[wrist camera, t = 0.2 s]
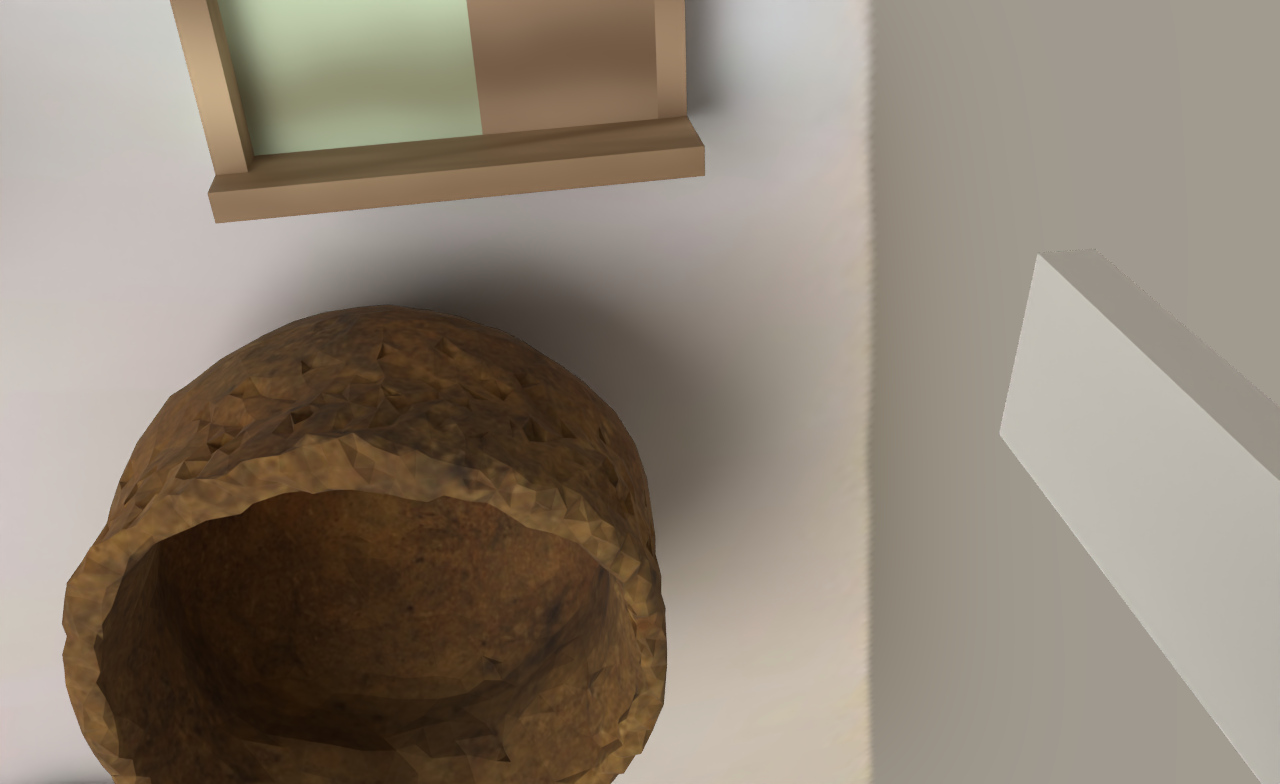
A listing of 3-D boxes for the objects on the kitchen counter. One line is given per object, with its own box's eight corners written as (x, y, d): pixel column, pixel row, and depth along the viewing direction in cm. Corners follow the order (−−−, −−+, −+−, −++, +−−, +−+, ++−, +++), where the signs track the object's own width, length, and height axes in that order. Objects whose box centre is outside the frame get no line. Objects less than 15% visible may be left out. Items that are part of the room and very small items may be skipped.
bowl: (330, 116, 39) (280, 318, 26) (710, 387, 47) (808, 637, 35) (63, 471, 45) (-82, 774, 32) (444, 655, 53) (446, 951, 41)
